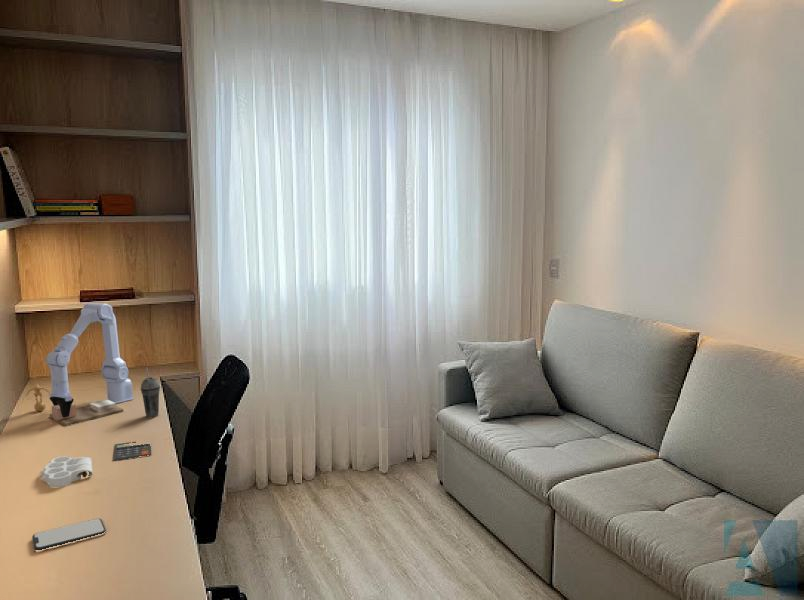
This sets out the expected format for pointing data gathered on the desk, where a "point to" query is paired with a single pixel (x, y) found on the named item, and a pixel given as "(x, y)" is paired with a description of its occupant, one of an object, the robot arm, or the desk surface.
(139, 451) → the calculator
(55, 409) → the tall pink cuboid
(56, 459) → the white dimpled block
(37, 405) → the figurine
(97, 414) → the ticket board
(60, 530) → the phone case
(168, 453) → the desk surface
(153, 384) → the beverage cup
